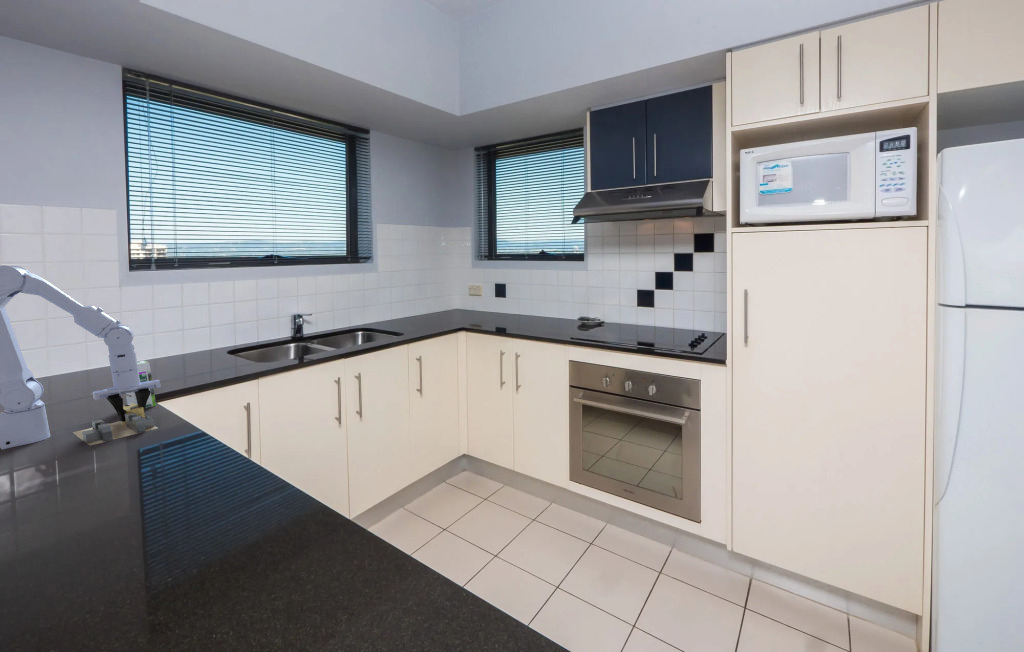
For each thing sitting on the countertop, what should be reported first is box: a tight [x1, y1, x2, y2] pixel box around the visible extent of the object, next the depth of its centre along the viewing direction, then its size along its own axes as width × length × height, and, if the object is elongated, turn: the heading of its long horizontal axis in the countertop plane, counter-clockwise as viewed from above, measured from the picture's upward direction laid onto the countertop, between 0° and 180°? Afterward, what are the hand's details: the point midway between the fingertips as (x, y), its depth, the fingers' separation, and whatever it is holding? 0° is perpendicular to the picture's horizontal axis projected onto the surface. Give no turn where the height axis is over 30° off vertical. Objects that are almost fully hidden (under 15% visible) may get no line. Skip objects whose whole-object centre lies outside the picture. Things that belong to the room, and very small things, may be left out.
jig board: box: [71, 421, 158, 446], centre depth 129 cm, size 14×18×1 cm
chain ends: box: [82, 412, 155, 444], centre depth 126 cm, size 14×9×4 cm, turn 141°
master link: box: [121, 403, 146, 424], centre depth 135 cm, size 4×8×4 cm, turn 51°
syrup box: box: [125, 360, 157, 409], centre depth 150 cm, size 6×6×14 cm
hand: (132, 418), depth 135 cm, fingers closed on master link, 4 cm apart
